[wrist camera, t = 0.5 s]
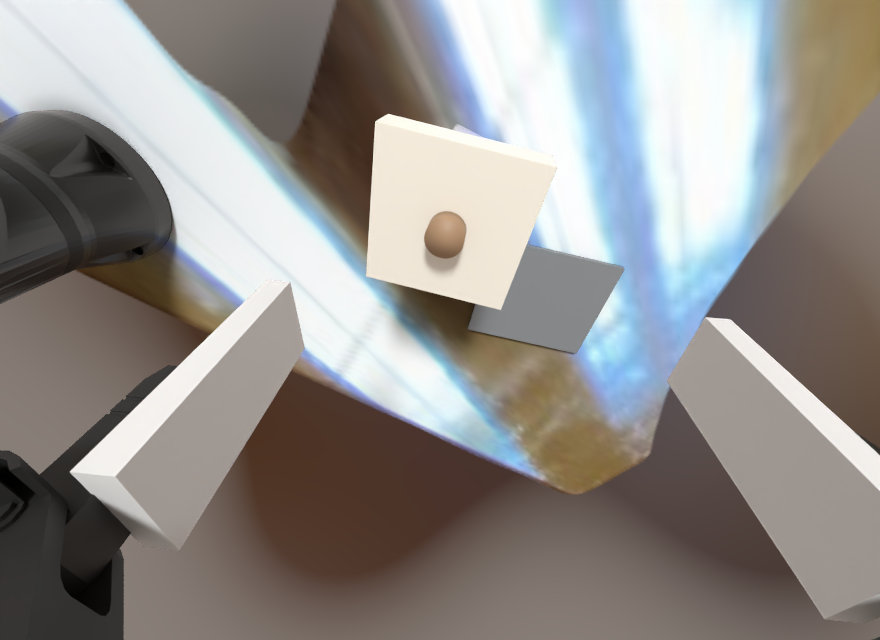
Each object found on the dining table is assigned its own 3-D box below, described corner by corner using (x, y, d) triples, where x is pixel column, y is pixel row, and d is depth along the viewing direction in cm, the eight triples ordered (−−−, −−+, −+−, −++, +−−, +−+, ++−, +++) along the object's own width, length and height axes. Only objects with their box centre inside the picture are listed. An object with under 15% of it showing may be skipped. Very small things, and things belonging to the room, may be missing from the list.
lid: (376, 259, 27) (359, 287, 24) (388, 114, 20) (366, 127, 17) (501, 290, 27) (500, 323, 24) (552, 155, 20) (560, 175, 17)
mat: (467, 326, 43) (467, 329, 43) (495, 236, 36) (496, 239, 36) (575, 350, 44) (576, 353, 43) (622, 266, 37) (624, 269, 36)
